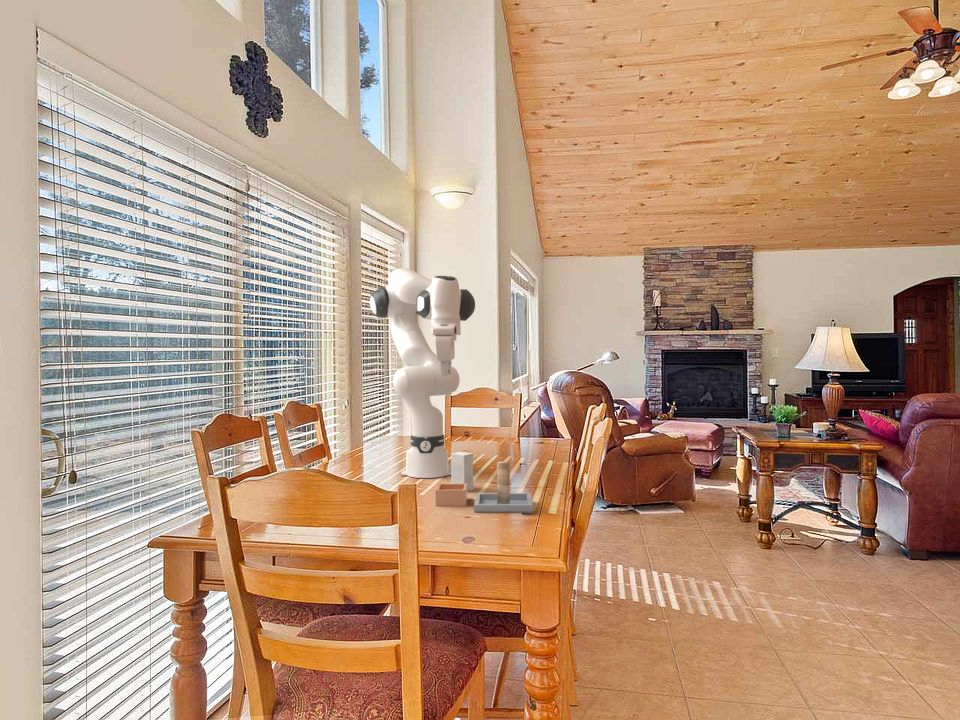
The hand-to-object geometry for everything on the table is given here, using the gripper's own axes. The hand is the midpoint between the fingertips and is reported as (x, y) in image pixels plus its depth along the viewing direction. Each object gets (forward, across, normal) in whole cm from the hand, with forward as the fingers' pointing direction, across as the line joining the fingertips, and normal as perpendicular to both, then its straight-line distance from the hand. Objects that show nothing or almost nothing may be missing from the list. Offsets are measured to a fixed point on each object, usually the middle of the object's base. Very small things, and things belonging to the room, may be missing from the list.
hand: (446, 375), depth 190 cm
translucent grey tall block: (+36, +11, +17) cm, 41 cm away
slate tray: (+37, +11, +17) cm, 42 cm away
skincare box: (+37, -9, +4) cm, 39 cm away
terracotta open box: (+37, +7, +2) cm, 38 cm away
